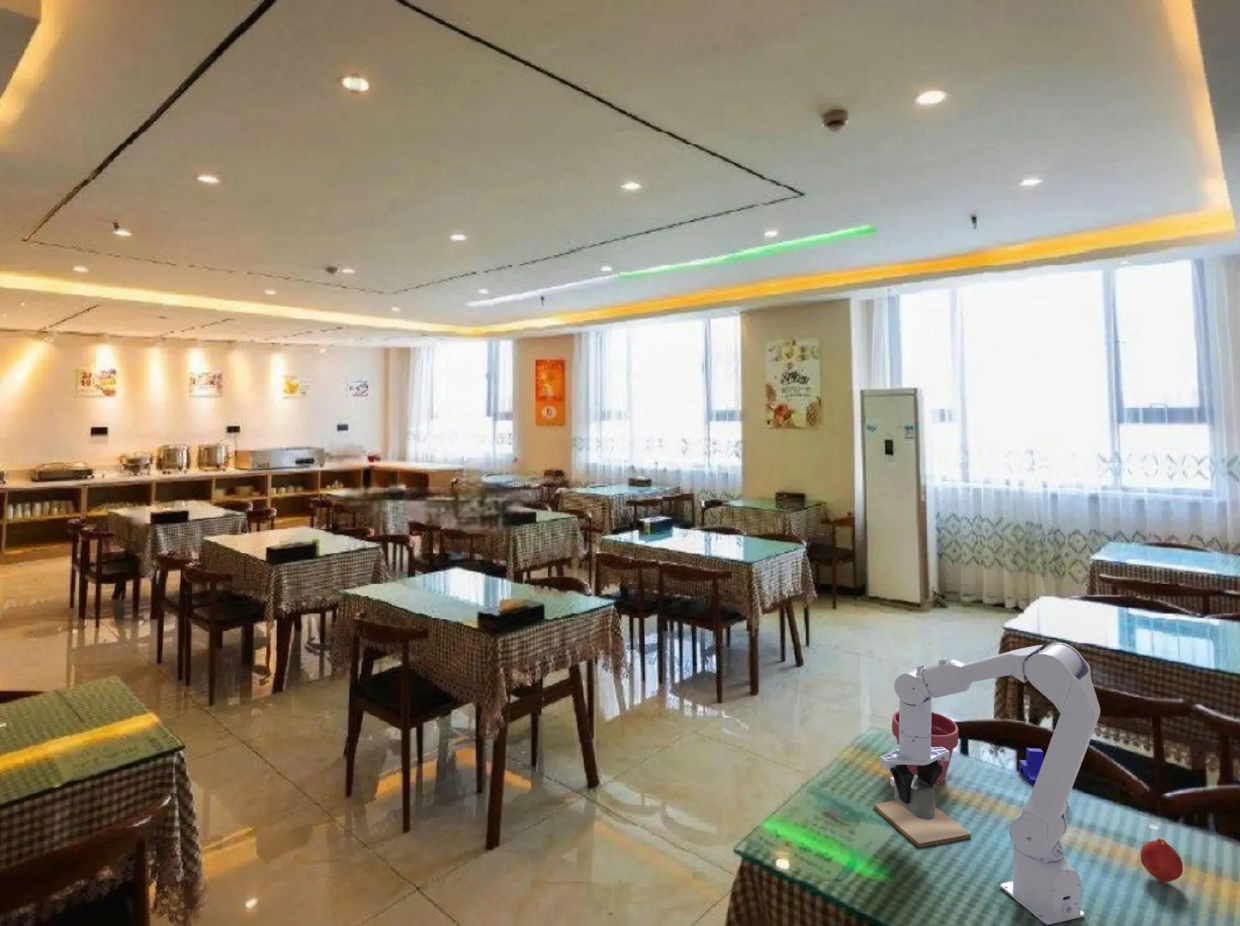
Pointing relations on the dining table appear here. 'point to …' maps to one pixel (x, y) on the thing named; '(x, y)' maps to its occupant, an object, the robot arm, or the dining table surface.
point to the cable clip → (1031, 764)
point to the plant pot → (935, 739)
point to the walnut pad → (922, 825)
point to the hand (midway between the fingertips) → (914, 799)
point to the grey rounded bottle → (919, 798)
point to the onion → (1161, 860)
